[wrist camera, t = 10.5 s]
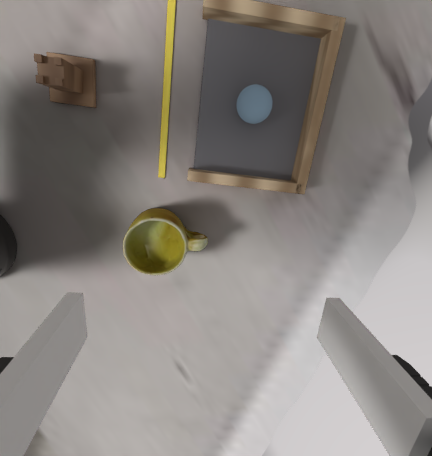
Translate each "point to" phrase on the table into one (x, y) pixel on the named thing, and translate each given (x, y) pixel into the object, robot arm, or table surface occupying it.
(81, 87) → the tee
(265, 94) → the ball
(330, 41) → the wooden u-shaped frame
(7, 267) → the robot arm
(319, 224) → the table surface
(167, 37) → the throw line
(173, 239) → the mug
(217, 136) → the mat
